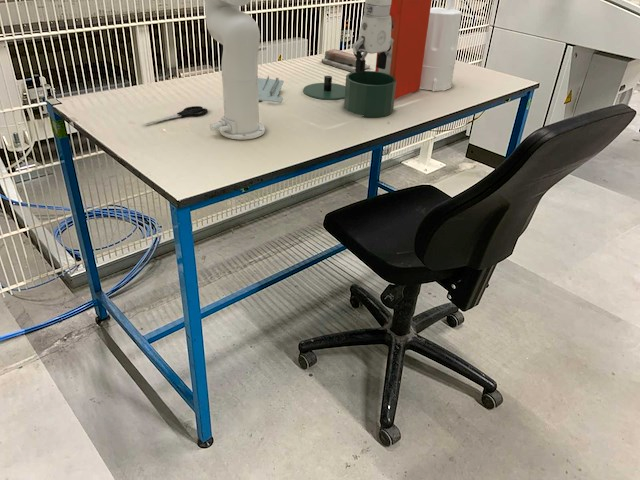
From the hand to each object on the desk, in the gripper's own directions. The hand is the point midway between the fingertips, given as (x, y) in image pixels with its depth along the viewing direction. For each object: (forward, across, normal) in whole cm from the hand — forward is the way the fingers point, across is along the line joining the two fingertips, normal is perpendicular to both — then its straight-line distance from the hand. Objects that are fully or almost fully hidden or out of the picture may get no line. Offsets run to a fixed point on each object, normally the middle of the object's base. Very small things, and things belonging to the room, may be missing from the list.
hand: (370, 70), depth 160 cm
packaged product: (+12, +31, +40) cm, 52 cm away
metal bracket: (+13, -18, +30) cm, 37 cm away
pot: (+12, +1, 0) cm, 12 cm away
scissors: (+14, -51, +29) cm, 60 cm away
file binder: (+12, +21, +5) cm, 25 cm away
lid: (+12, +1, +19) cm, 22 cm away
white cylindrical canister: (+12, +40, +4) cm, 42 cm away
